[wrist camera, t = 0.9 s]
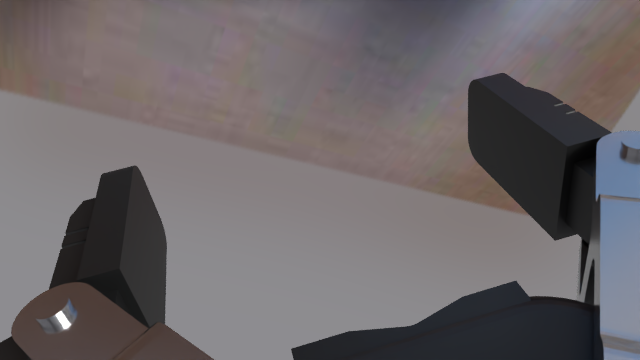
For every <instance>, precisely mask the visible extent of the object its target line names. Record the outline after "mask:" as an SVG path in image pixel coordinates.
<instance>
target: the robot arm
mask: <svg viewBox="0 0 640 360" xmlns="http://www.w3.org/2000/svg"><path fill="white" fill-rule="evenodd" d="M468 142H469V147H470V150H471V153H472V155H473V157H474V159H475V160H476V161H477V162H478V163H479V165H480V166H481V167H482V168H483V169H484V170H485V171H486V172H487V173H488V174H489V175H490V176H491V177H492V178H493V179H494V180H495V181H496V182H497V183H498V184H499V185H500V186H501V187H502V188H503V189H504V190H505V191H506V192H507V193H508V194H509V195H510V196H511V197H512V198H513V199H514V200H515V201H516V202H517V203H518V204H519V205H520V206H521V207H522V208H523V209H524V210H525V211H526V212H527V213H528V214H529V215H530V216H531V217H532V218H533V219H534V220H535V221H536V222H537V223H538V224H539V225H540V226H541V227H542V228H543V229H544V230H545V231H546V232H547V233H548V234H549V235H550V236H551V237H552V238H553V239H554V240H559V239H562V238H565V237H569V236H572V235H576V234H578V235H579V236H580V237H581V243H580V249H579V264H578V284H577V285H578V286H577V301H576V300H571V299H566V298H558V297H546V296H544V297H543V296H533V297H529V296H528V295H527V294H526V293H525V291H524V290H523V289H522V288H521V286H520V285H519V284H518V283H517V281H513V282H510V283H507V284H503V285H500V286H497V287H493V288H490V289H487V290H484V291H480V292H477V293H474V294H470V295H468V296H464V297H462V298H460V299H458V300H456V301H455V302H453V303H451V304H450V305H448V306H446V307H444V308H443V309H441V310H439V311H438V312H436V313H434V314H433V315H431V316H429V317H427V318H426V319H424V320H422V321H421V322H419V323H417V324H415V325H412V326H407V327H396V328H384V329H372V330H360V331H349V332H345V333H342V334H339V335H335V336H332V337H329V338H325V339H322V340H319V341H316V342H313V343H309V344H306V345H302V346H299V347H296V348H292V349H291V350H292V354H293V358H294V360H640V131H620V132H614V133H612V132H610V131H608V130H607V129H605V128H604V127H602V126H600V125H599V124H597V123H596V122H594V121H592V120H591V119H589V118H588V117H586V116H584V115H583V114H581V113H580V112H575V109H573V108H572V107H570V106H569V105H567V104H563V102H562V101H561V100H559V99H557V98H556V97H554V96H553V95H551V94H549V93H547V92H544V91H541V90H537V89H534V88H530V87H525V86H523V85H522V84H520V83H519V82H517V81H516V80H514V79H513V78H511V77H510V76H508V75H507V74H505V73H499V74H495V75H492V76H488V77H484V78H480V79H476V80H473V81H472V82H471V83H470V85H469V89H468ZM166 252H167V243H166V236H165V232H164V227H163V224H162V221H161V218H160V216H159V214H158V211H157V209H156V207H155V204H154V202H153V200H152V197H151V195H150V192H149V190H148V188H147V186H146V183H145V181H144V178H143V176H142V174H141V172H140V170H139V168H138V167H137V166H131V167H127V168H123V169H119V170H116V171H111V172H108V173H104V174H102V175H101V178H100V182H99V186H98V191H97V195H96V198H93V199H89V200H86V201H83V202H82V204H81V205H80V206H79V207H78V208H77V210H76V211H75V212H74V213H73V214H72V215H71V217H70V219H69V223H68V226H67V230H66V236H64V240H63V243H62V249H61V250H60V253H59V257H58V260H57V263H56V267H55V270H54V274H53V277H52V281H51V284H50V287H49V290H47V291H45V292H43V293H42V294H40V295H39V296H37V297H36V298H34V299H33V300H32V301H30V302H29V303H28V304H27V305H26V306H25V307H24V308H23V309H22V310H21V311H20V313H19V314H18V316H17V317H16V319H15V321H14V323H13V326H12V332H11V334H12V336H11V337H10V338H8V339H6V340H4V341H2V342H1V343H0V360H214V359H212V358H211V357H210V356H208V355H207V354H206V353H204V352H203V351H201V350H200V349H199V348H197V347H196V346H194V345H193V344H192V343H190V342H189V341H187V340H186V339H184V338H183V337H182V336H180V335H179V334H178V333H176V332H175V331H173V330H172V329H171V328H169V327H168V326H166V325H165V295H166Z"/></svg>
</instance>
